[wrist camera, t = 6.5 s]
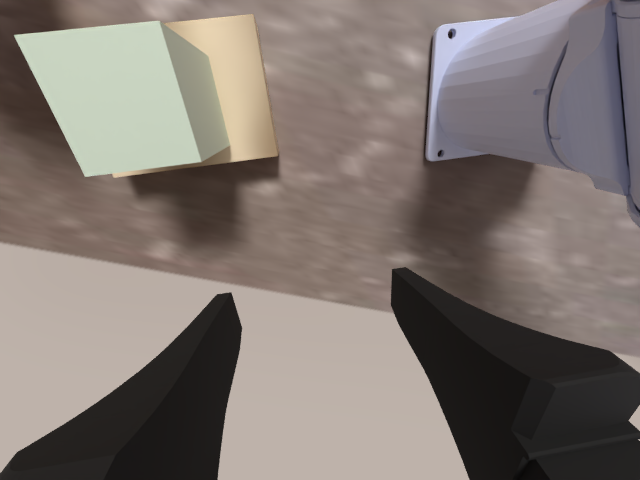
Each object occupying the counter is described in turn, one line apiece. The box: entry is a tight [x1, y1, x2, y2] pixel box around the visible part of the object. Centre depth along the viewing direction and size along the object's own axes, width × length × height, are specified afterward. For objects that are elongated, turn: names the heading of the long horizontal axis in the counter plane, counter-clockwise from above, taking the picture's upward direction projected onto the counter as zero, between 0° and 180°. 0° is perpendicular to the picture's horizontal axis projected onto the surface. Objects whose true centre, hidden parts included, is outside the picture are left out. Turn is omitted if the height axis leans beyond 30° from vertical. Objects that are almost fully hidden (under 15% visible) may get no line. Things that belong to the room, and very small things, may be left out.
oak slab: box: [112, 14, 279, 178], centre depth 16 cm, size 10×7×2 cm
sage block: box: [14, 21, 230, 177], centre depth 12 cm, size 4×4×6 cm
